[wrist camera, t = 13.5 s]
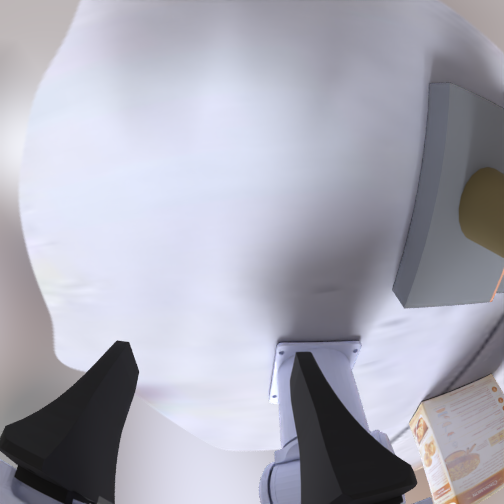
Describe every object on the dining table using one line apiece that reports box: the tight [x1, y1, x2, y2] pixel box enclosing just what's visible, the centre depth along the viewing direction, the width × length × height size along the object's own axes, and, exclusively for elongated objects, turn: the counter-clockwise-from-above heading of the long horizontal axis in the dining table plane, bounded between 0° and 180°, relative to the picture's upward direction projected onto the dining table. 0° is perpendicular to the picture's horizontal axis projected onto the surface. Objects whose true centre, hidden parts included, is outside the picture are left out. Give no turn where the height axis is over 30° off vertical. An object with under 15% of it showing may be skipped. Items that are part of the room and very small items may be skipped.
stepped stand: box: [393, 82, 504, 308], centre depth 18 cm, size 17×17×3 cm
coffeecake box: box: [409, 374, 504, 504], centre depth 24 cm, size 15×7×20 cm, turn 97°
